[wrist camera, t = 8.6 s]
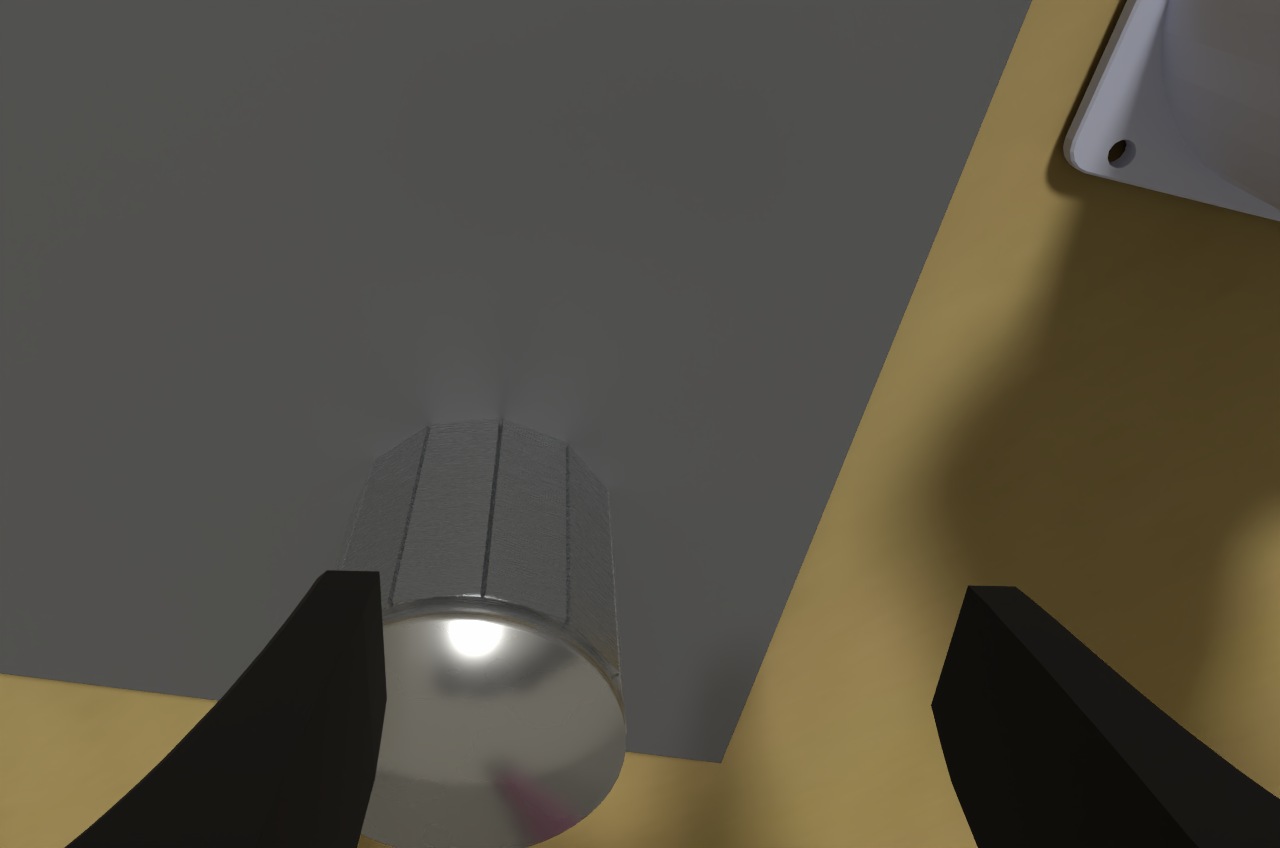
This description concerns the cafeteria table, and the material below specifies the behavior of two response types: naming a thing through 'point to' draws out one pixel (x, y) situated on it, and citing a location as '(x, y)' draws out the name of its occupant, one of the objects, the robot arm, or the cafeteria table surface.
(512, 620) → the cylinder
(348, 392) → the base board
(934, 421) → the cafeteria table surface
